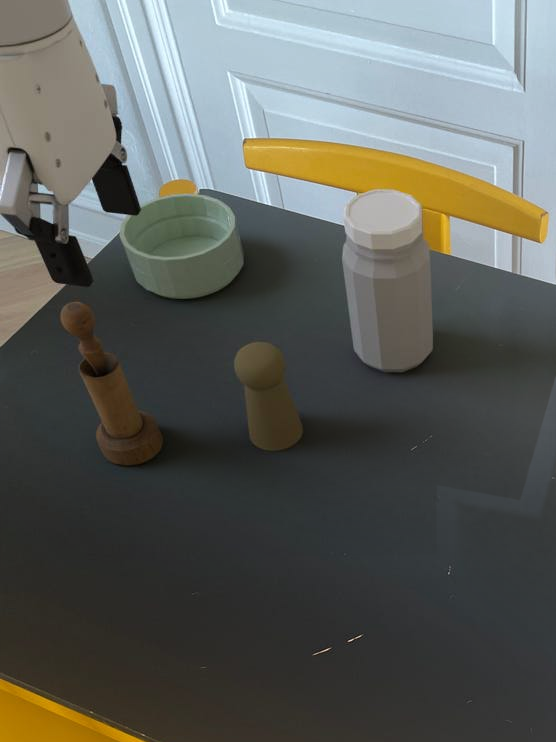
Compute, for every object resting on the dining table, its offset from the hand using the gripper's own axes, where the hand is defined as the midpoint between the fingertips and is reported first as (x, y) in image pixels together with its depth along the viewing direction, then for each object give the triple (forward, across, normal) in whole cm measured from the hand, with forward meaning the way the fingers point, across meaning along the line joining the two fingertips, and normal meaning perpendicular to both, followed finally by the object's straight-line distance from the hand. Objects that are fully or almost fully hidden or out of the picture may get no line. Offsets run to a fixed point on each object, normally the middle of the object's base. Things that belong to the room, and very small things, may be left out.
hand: (99, 246), depth 72 cm
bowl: (+28, -37, -14) cm, 48 cm away
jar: (+28, -26, +16) cm, 42 cm away
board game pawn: (+28, -10, +6) cm, 31 cm away
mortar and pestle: (+28, -5, -8) cm, 30 cm away
